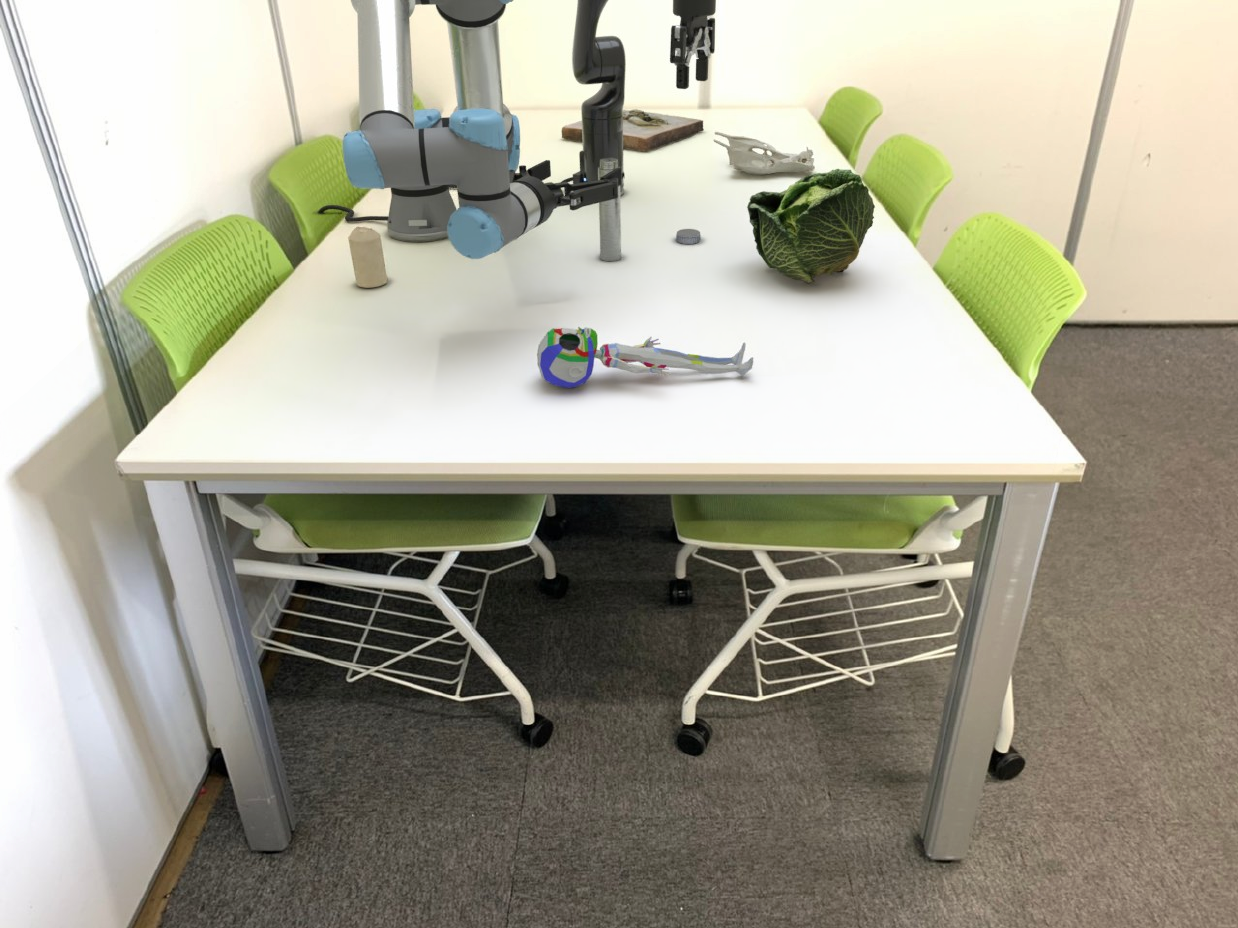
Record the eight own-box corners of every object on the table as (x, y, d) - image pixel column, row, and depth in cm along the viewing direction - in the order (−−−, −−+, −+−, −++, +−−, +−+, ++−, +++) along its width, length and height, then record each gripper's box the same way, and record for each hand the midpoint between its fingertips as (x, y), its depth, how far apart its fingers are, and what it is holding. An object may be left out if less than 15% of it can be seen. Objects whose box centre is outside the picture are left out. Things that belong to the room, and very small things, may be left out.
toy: (760, 356, 123) (541, 338, 118) (747, 410, 127) (536, 395, 123) (743, 326, 131) (539, 309, 127) (732, 378, 136) (534, 363, 131)
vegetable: (773, 300, 170) (724, 207, 162) (854, 244, 171) (810, 148, 164) (823, 314, 152) (771, 210, 144) (914, 251, 153) (867, 144, 145)
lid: (676, 236, 182) (677, 228, 181) (700, 237, 182) (700, 229, 181) (675, 244, 178) (675, 236, 177) (699, 244, 177) (700, 236, 177)
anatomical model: (715, 128, 226) (815, 127, 222) (715, 165, 231) (813, 164, 227) (711, 142, 214) (818, 141, 210) (711, 181, 219) (815, 181, 215)
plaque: (647, 125, 237) (559, 112, 252) (647, 153, 241) (560, 139, 256) (706, 107, 258) (622, 97, 273) (705, 133, 262) (622, 121, 277)
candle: (393, 278, 163) (384, 224, 158) (377, 289, 159) (367, 234, 154) (367, 275, 165) (358, 222, 160) (350, 286, 160) (340, 231, 155)
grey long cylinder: (623, 260, 170) (621, 162, 161) (602, 262, 170) (600, 163, 160) (618, 253, 174) (617, 156, 164) (598, 255, 173) (595, 158, 163)
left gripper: (455, 220, 144) (521, 186, 160) (594, 240, 135) (650, 202, 151) (450, 173, 140) (518, 143, 156) (593, 191, 131) (650, 156, 147)
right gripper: (692, -19, 162) (689, 77, 171) (657, -13, 152) (656, 89, 160) (730, -18, 159) (726, 80, 168) (697, -12, 149) (694, 93, 157)
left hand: (583, 172), depth 154 cm, fingers open, 13 cm apart
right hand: (692, 84), depth 164 cm, fingers open, 8 cm apart
